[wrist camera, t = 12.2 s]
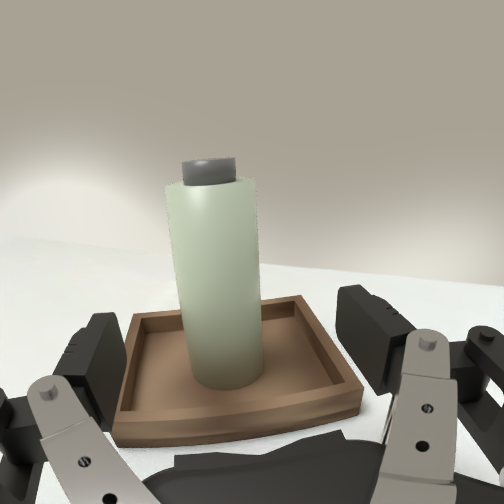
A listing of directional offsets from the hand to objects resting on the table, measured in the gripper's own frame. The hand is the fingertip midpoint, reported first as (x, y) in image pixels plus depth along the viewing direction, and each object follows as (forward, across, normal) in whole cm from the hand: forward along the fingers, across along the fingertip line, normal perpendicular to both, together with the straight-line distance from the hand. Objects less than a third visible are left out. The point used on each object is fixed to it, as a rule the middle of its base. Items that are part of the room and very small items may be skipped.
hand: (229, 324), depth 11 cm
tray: (+8, 0, +9) cm, 12 cm away
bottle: (+8, 0, +8) cm, 11 cm away
